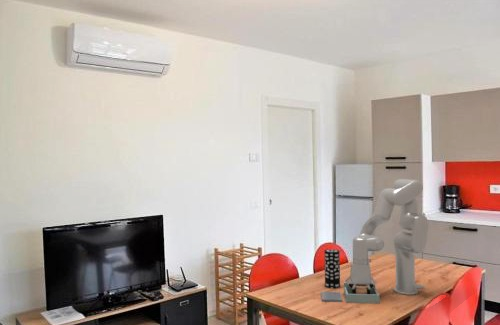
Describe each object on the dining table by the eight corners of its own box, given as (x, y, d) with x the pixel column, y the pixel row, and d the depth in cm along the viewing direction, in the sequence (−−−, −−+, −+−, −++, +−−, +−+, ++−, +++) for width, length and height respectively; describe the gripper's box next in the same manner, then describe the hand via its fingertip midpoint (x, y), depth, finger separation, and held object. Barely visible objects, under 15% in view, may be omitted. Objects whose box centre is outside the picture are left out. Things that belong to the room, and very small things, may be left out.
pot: (367, 296, 212) (366, 282, 212) (369, 300, 206) (369, 286, 206) (353, 296, 213) (353, 282, 213) (355, 300, 206) (354, 286, 206)
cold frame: (375, 294, 215) (374, 283, 215) (379, 303, 202) (379, 291, 202) (343, 294, 217) (343, 282, 217) (346, 302, 204) (346, 290, 204)
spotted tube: (340, 284, 233) (339, 249, 233) (339, 289, 225) (339, 252, 225) (325, 283, 236) (325, 248, 236) (324, 288, 228) (323, 252, 228)
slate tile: (340, 294, 217) (340, 292, 217) (342, 301, 205) (342, 299, 205) (320, 293, 218) (320, 291, 218) (322, 301, 206) (321, 299, 206)
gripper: (376, 259, 212) (377, 294, 212) (342, 259, 214) (343, 294, 214) (379, 263, 205) (379, 299, 205) (344, 263, 207) (344, 298, 207)
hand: (361, 296), depth 209 cm, fingers closed on pot, 6 cm apart
